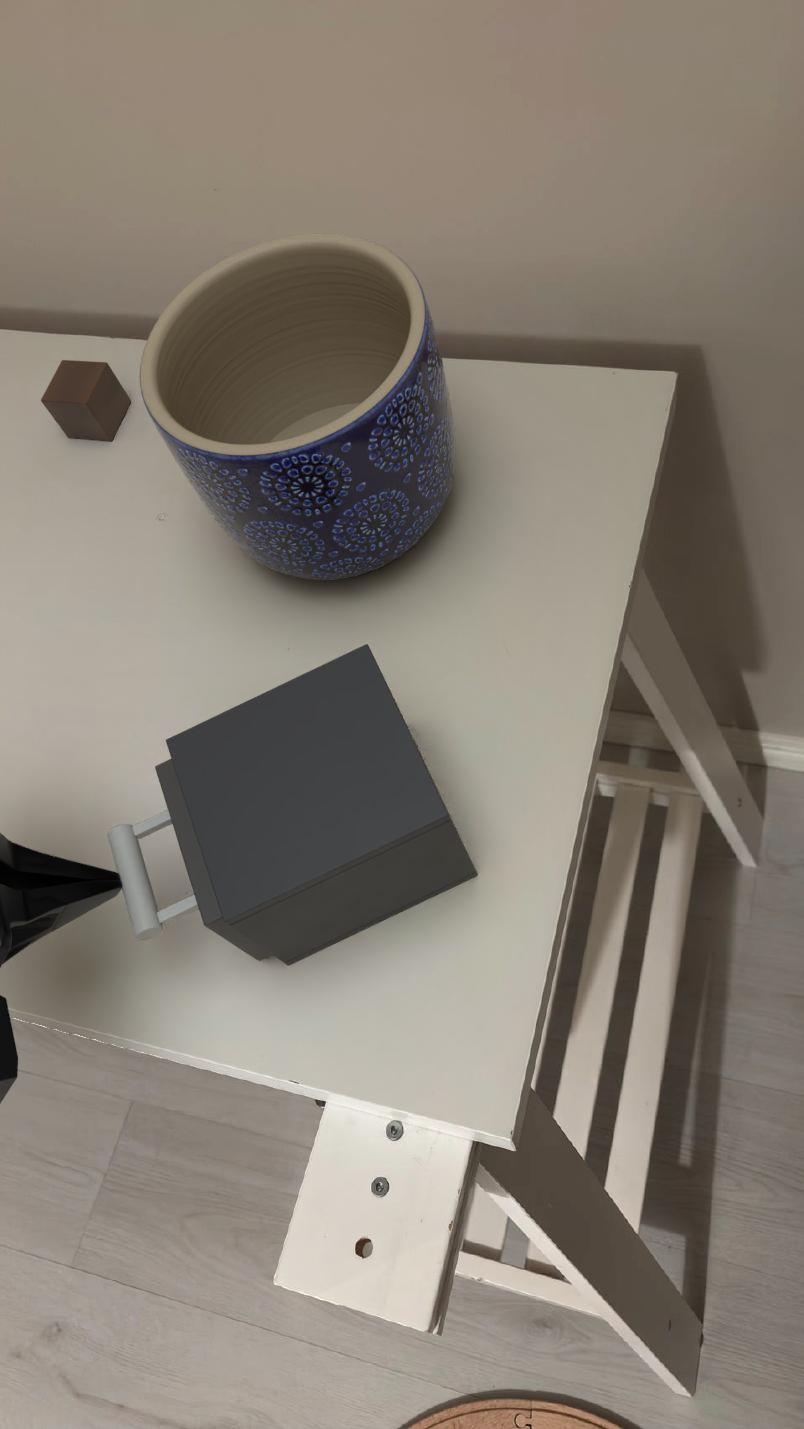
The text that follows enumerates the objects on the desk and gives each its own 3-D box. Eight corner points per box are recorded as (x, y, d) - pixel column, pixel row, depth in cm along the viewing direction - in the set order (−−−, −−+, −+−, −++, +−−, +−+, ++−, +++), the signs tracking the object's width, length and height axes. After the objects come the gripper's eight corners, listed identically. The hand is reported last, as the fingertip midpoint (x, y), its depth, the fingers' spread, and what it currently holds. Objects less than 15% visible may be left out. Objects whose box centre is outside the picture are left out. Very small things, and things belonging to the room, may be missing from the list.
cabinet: (287, 966, 53) (223, 922, 45) (231, 805, 58) (164, 739, 50) (478, 875, 53) (448, 814, 45) (405, 722, 58) (367, 643, 50)
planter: (484, 407, 68) (447, 217, 55) (454, 613, 61) (403, 453, 48) (260, 415, 72) (176, 241, 59) (208, 609, 65) (100, 460, 52)
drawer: (193, 993, 53) (128, 961, 46) (150, 846, 57) (85, 798, 51) (434, 878, 53) (404, 830, 46) (372, 740, 57) (336, 678, 51)
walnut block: (67, 438, 75) (39, 400, 72) (88, 398, 77) (61, 359, 73) (112, 441, 74) (86, 403, 71) (132, 401, 76) (107, 361, 72)
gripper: (-211, 1069, 31) (235, 983, 40) (-250, 622, 40) (123, 639, 49) (-241, 1183, 38) (146, 1086, 47) (-268, 780, 47) (62, 768, 56)
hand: (118, 884), depth 50 cm, fingers closed, pressing on drawer
